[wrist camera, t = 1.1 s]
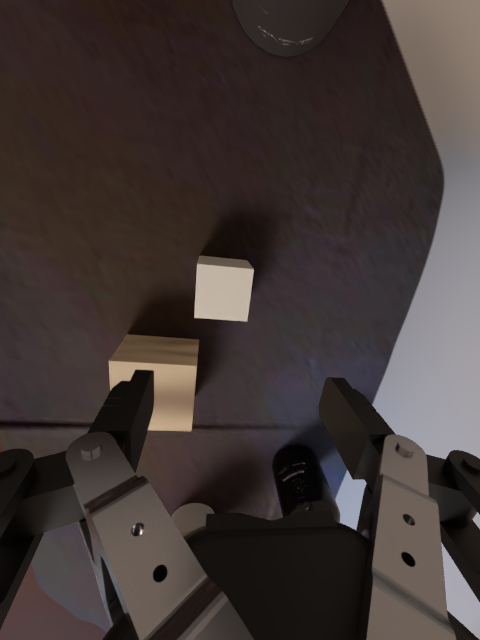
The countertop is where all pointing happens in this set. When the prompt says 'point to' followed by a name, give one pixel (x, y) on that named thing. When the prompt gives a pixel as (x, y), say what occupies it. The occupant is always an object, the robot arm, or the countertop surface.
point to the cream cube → (223, 288)
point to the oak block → (161, 376)
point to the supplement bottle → (302, 482)
